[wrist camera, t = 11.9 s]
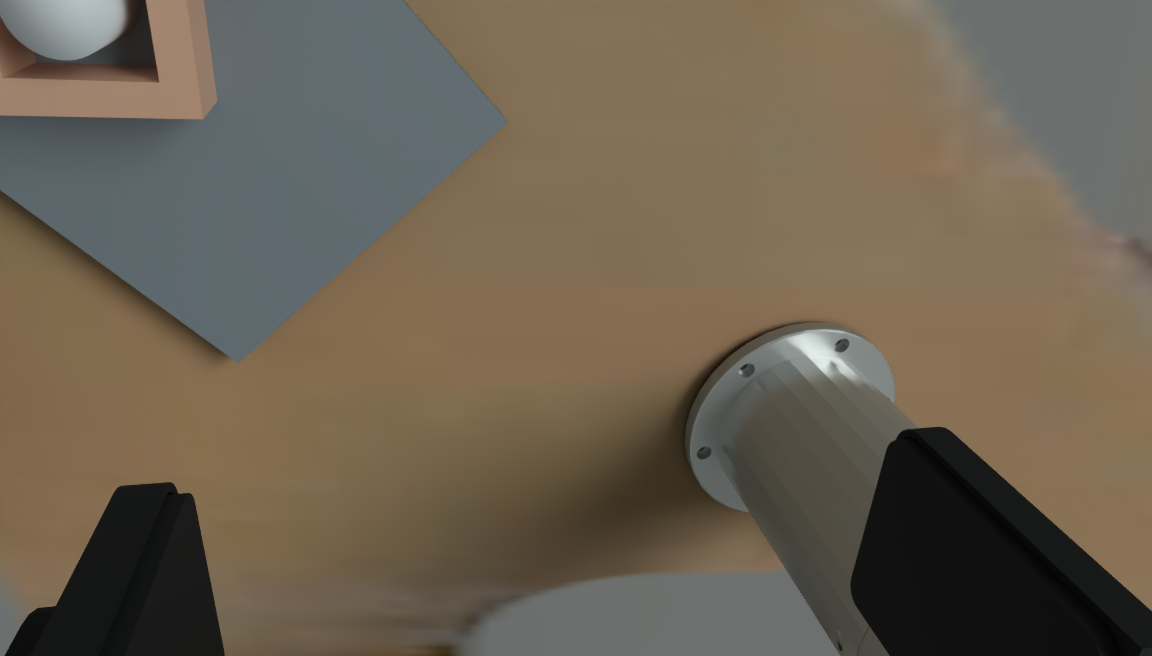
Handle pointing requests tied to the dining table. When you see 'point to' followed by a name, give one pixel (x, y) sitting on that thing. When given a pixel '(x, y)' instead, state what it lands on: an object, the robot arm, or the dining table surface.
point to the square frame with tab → (118, 74)
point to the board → (245, 151)
